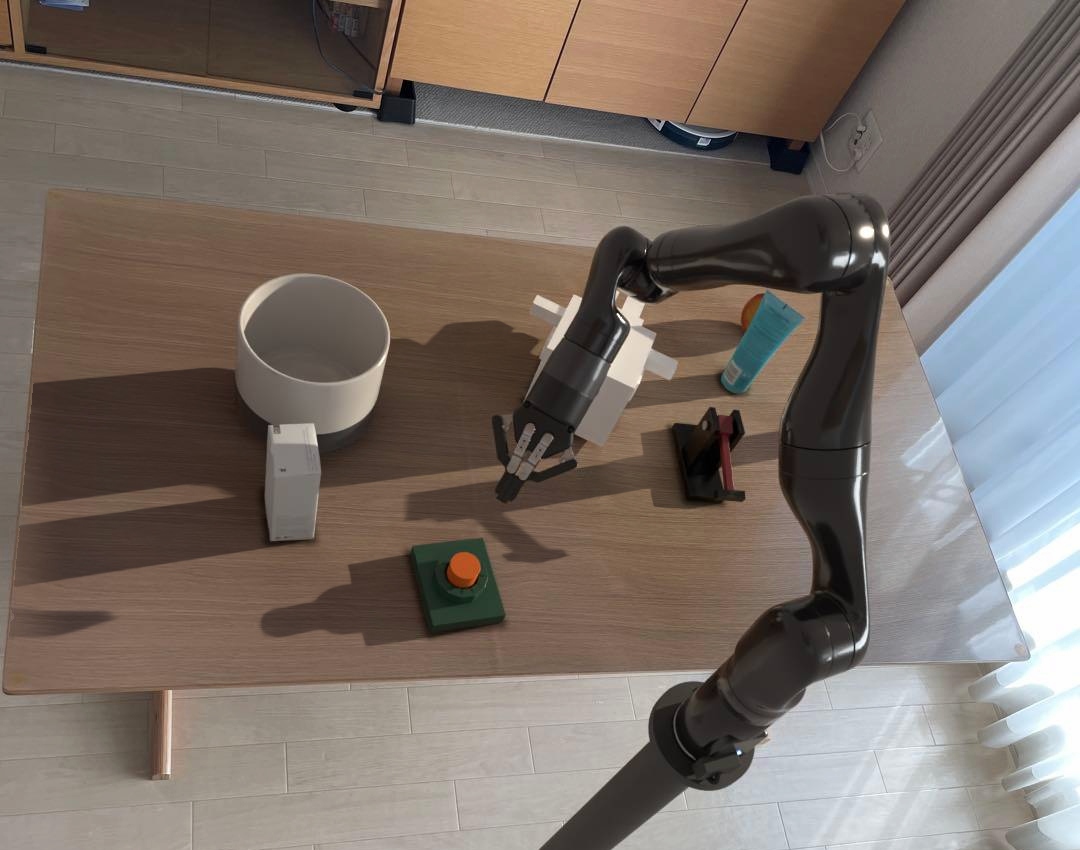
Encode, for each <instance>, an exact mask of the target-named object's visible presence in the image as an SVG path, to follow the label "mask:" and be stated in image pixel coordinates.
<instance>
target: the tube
mask: <svg viewBox="0 0 1080 850" xmlns="http://www.w3.org/2000/svg"><path fill="white" fill-rule="evenodd" d="M764 293H765V294H764V296H763V299H762V301H761V303H760V305H759V307H758V309H757V311H756V313H755V315H754V317H753V319H752V321H751V323H750V325H749V327H748V329H747V330H746V332H745V333H744V334H743V336H742V338H741V340H740V341H739V344H738V345H737V347H736V349H735V351H734V353H733V354H732V355H731V358H730V360H729V362H728V363H727V365H726V367H725V369H724V370H723V372H722V374H721V376H720V381H721V384H722V385H723V386H724V388H725V389H726V390H728V391H729V392H730V393H734V394H743V393H745V392H746V391H747V390H748V389H749V387H750V386H751V384H752V383H753V382H754V381H755V379H757V377H758V375H759V374H760V373H761V371H762V370H763V368H764V367H765V366H766V365H767V363H768V362H769V361H770V360H771V359H772V357H773V356H774V354H775V353H776V352H777V351H778V350H779V349H780V347H781V346H782V345H783V344H784V343H785V341H786V340H787V339H788V338H789V336H790V335H792V334H793V332H794V331H795V330H796V328H798V327H799V326H800V325H801V324H802V323H803V322H804V320H805V319H806V317H805V316H804V315H803V314H801V313H800V312H798V311H797V310H796V309H795V308H793V307H791V306H790V305H789V304H787V303H786V302H785V301H784V300H783V299H781V298H780V297H778V296H777V295H776V294H774V293H773V292H771V291H770V289H766V290H765V292H764Z"/></svg>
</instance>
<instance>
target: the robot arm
mask: <svg viewBox="0 0 1080 850" xmlns="http://www.w3.org/2000/svg"><path fill="white" fill-rule="evenodd" d="M891 242H892V239H891V227H890V222H889V219H888V216H887V212H886V210H885V208H884V207H883V205H882V203H881V202H880V200H878V199H877V198H876V196H874V195H872V194H870V193H867V192H865V191H842V192H829V193H819V194H818V193H817V194H808V195H802V196H799V197H796V198H794V199H790V200H788V201H786V202H784V203H782V204H779V205H776V206H774V207H773V208H770V209H767V210H765V211H763V212H759V213H758V214H755V215H754V216H751V217H749V218H746V219H743V220H740V221H737V222H733V223H726V224H706V225H698V226H691V227H685V228H679V229H673V230H669V231H666V232H663V233H661V234H659V235H658V236H656V237H655V238H654V239H653V240H651V239H649V238H648V237H647V236H645V235H643V234H642V233H641V232H639V231H638V230H636V229H635V228H633V227H631V226H628V225H619V226H617V227H614V228H612V229H611V230H609V231H608V232H607V233H606V234H605V235H604V236H603V237H602V238H601V239H600V241H599V242H598V244H597V247H596V248H595V251H594V253H593V256H592V260H591V265H590V268H589V273H588V276H587V280H586V284H585V287H584V290H583V294H582V297H581V298H582V301H581V304H580V306H579V309H578V311H577V313H576V315H575V317H574V318H573V320H572V322H571V324H570V325H569V327H568V329H567V331H566V332H565V334H564V337H563V338H562V339H561V341H560V342H559V344H558V345H557V346H556V347H555V349H554V350H553V352H552V353H551V355H550V357H549V358H548V360H547V362H546V364H545V366H544V367H543V369H542V371H541V373H540V374H539V376H538V378H537V380H536V381H535V383H534V385H533V387H532V389H531V390H530V392H529V394H528V396H527V397H526V396H525V397H526V399H525V398H524V400H525V401H524V400H523V402H524V403H523V402H522V403H521V405H519V406H518V407H516V408H515V409H514V410H513V412H512V413H509V414H508V413H507V414H495V415H492V417H491V425H492V430H493V431H492V432H493V438H494V445H495V451H496V458H497V461H499V462H500V463H501V464H502V466H503V467H504V472H503V474H502V476H501V478H500V480H499V482H498V483H497V485H496V487H495V488H494V493H495V494H496V497H495V499H496V500H497V501H499V502H501V503H503V504H504V505H506V504H508V503H509V502H510V503H512V502H513V501H515V500H516V499H517V498H518V496H519V494H520V493H521V491H522V489H523V487H524V486H525V484H526V482H534V483H536V484H539V483H542V482H545V481H547V480H550V479H552V478H554V477H557V476H560V475H562V474H564V473H567V472H569V471H572V470H575V469H576V468H578V467H579V464H580V463H579V460H578V459H577V458H576V456H575V454H574V451H573V449H572V446H573V445H574V443H575V442H574V441H575V439H574V437H575V432H576V430H577V428H578V426H579V425H580V423H581V421H582V419H583V418H584V416H585V414H586V412H587V411H588V409H589V407H590V405H591V404H592V402H593V400H594V398H595V397H596V396H597V395H598V393H599V391H600V388H601V386H602V385H603V383H604V381H605V378H606V376H607V373H608V371H609V369H610V367H611V364H612V363H613V361H614V360H615V358H616V356H617V354H618V353H619V351H620V349H621V347H622V346H623V344H624V342H625V340H626V339H627V337H628V335H629V332H630V323H629V321H628V320H627V319H626V318H625V317H624V316H623V315H622V313H621V312H620V311H619V310H618V309H617V307H618V306H617V305H616V301H615V297H616V290H617V291H619V292H622V293H623V294H625V295H626V296H627V297H628V296H629V297H631V298H633V299H634V300H636V301H638V302H640V303H644V304H645V305H651V306H652V305H658V304H661V303H662V302H664V301H666V300H667V299H669V298H672V297H673V296H676V295H677V294H679V293H680V292H695V291H706V290H713V289H719V288H723V287H727V286H728V287H729V286H732V285H733V286H735V285H736V286H737V285H739V286H740V285H741V286H742V285H743V286H753V287H760V288H766V289H769V290H770V289H772V290H778V291H782V292H789V293H794V294H801V295H816V294H820V302H819V315H818V325H817V331H816V334H815V340H814V342H813V344H812V347H811V348H812V349H811V351H810V354H809V356H808V357H807V360H806V362H805V364H804V366H803V368H802V370H801V372H800V374H799V375H798V377H797V379H796V382H795V384H794V385H793V387H792V390H791V392H790V393H789V396H788V398H787V400H786V403H785V405H784V408H783V410H782V414H781V418H780V421H779V430H778V457H777V459H778V460H777V461H778V462H777V465H778V466H777V469H778V470H777V472H778V473H777V474H778V482H779V486H780V491H781V493H782V496H783V498H784V501H785V502H786V503H787V505H788V508H789V509H790V511H791V513H792V514H793V516H794V517H795V519H796V521H797V522H798V524H799V525H800V527H801V528H802V530H803V532H804V534H805V536H806V537H807V540H808V542H809V547H810V549H811V550H810V551H811V560H812V561H811V562H812V578H811V587H810V591H809V594H807V595H803V596H801V597H800V596H799V597H797V598H794V599H790V600H787V601H784V602H781V603H777V604H775V605H773V606H771V607H769V608H767V609H766V610H765V611H764V612H763V613H761V614H760V615H759V616H758V617H757V618H756V620H755V621H753V623H752V624H751V625H750V626H749V627H748V629H746V630H745V632H744V633H743V634H742V635H741V637H740V638H739V639H738V641H737V643H736V645H735V648H734V652H733V653H732V654H731V655H730V656H729V657H728V658H727V659H726V660H725V661H724V662H723V663H722V664H721V665H720V666H719V667H718V668H717V669H716V670H715V671H713V673H712V674H711V675H710V676H709V677H708V678H707V679H706V680H705V681H703V682H704V683H703V684H702V685H701V686H700V687H697V688H695V689H694V690H693V691H692V692H694V691H695V692H694V693H693V694H692V695H691V696H690V697H689V698H688V699H687V700H686V701H684V702H683V703H682V704H681V705H680V706H679V707H678V708H677V709H676V711H675V713H674V715H673V718H672V733H673V737H674V740H675V742H676V744H677V746H678V748H679V749H680V750H681V752H682V753H683V754H684V755H685V756H686V757H687V758H689V759H690V760H691V761H693V762H694V764H693V765H692V768H693V771H694V774H695V777H696V779H697V780H701V779H706V780H707V781H708V782H709V783H711V784H712V785H717V784H718V783H719V782H720V780H721V777H722V775H723V774H727V773H731V772H733V771H734V770H735V769H737V768H738V767H739V766H741V765H742V764H741V761H740V759H739V758H741V757H742V756H743V755H745V754H746V753H747V752H748V751H750V750H751V749H752V748H754V747H755V748H756V746H758V745H759V744H760V743H761V742H762V741H764V740H765V739H767V738H768V736H769V733H768V729H769V728H770V727H771V726H773V725H774V724H776V722H778V721H779V720H781V718H783V717H784V716H786V714H788V713H789V712H790V711H792V710H794V708H796V707H797V706H798V705H799V704H800V703H801V701H802V700H803V698H804V697H805V694H806V691H807V688H808V687H809V686H811V685H814V684H816V683H819V682H821V681H824V680H827V679H829V678H832V677H836V676H838V675H841V674H843V673H847V672H848V671H850V670H853V669H855V668H856V667H857V666H859V665H860V664H861V663H862V662H863V661H864V659H865V658H866V655H867V654H868V650H869V647H870V646H869V645H870V639H871V613H870V610H871V609H870V595H869V580H868V560H867V559H868V558H867V546H868V545H867V542H868V541H867V540H868V539H867V538H868V502H869V501H868V500H869V499H868V498H869V497H868V496H869V485H870V474H871V459H872V458H871V456H872V439H873V438H872V437H873V414H872V413H873V401H874V386H875V374H876V363H877V362H876V361H877V348H878V339H879V331H880V324H881V318H882V317H881V316H882V314H883V313H882V312H883V306H884V301H885V300H884V299H885V293H886V287H887V280H888V273H889V267H890V258H891V246H892V244H891ZM512 422H513V423H512ZM511 424H512V425H513V426H512V427H513V434H514V441H515V443H516V446H515V449H514V451H513V454H512V456H511V455H510V451H509V444H508V439H507V438H508V437H507V432H508V431H510V429H511ZM528 452H530V453H531V454H530V456H529V457H528V458H527V460H526V462H525V463H524V465H523V467H521V466H522V462H523V461H524V459H525V457H526V455H527V453H528ZM562 452H563V454H562V455H561V456H560V457H559V459H558V464H556V465H553V466H550V467H548V468H545V469H543V470H540V471H536V470H535V469H536V467H538V465H539V463H540V462H541V461H542V460H545V459H549V458H551V457H554V456H556V455H558V454H560V453H562ZM520 467H521V469H520ZM519 469H520V470H519ZM518 471H519V472H518ZM517 472H518V473H517ZM692 692H691V693H692ZM714 776H715V778H713V777H714Z"/></svg>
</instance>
